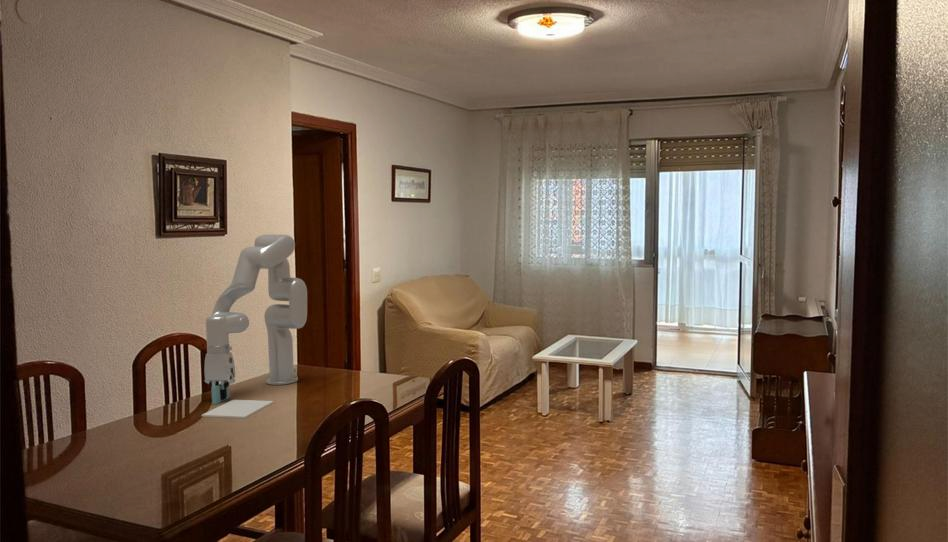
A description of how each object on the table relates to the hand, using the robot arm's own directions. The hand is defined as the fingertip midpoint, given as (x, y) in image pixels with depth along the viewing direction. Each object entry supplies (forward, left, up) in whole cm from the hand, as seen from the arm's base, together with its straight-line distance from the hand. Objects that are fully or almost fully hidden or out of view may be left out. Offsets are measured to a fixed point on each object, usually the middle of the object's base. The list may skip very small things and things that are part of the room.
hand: (220, 399), depth 257 cm
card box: (0, 0, -1) cm, 1 cm away
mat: (+10, +13, -1) cm, 16 cm away
